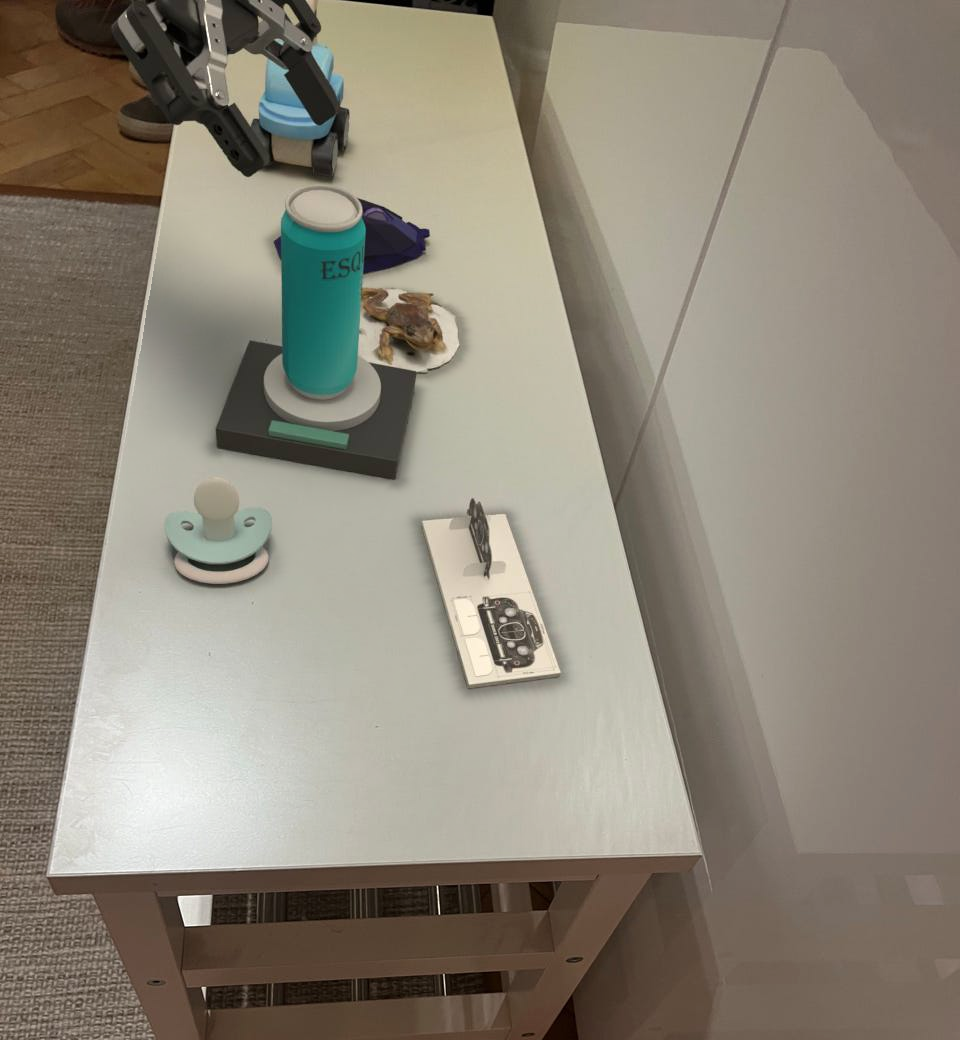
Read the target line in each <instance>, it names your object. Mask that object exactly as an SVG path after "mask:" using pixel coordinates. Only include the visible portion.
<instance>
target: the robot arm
mask: <svg viewBox="0 0 960 1040" xmlns="http://www.w3.org/2000/svg"><path fill="white" fill-rule="evenodd" d="M285 5H288V6H289V8H290V10H291V11H292V13H293V14H294V15H295V18H296V19H297V21H298V22H297V23H296V24H294V23H293V22H292V21H291V18H289V16H288V14H287V12H286V11H285V8H284V7H285ZM259 18H260V19H261V21H260V22H259ZM110 29H111V33H112V35H113V37H114V38H115V40H116V42H117V44H118V45H119V46H120V48H121V50H122V51H123V52H124V55H125V56H126V58H127V59H128V60H129V62H130V64H131V65H132V67H133V68H134V71H136V73H137V74H138V76H139V78H140V79H141V81H142V82H143V84H144V86H145V87H146V88H147V90H148V91H149V93H150V95H151V96H152V97H153V99H154V101H155V102H156V104H157V105H158V107H159V108H160V110H161V112H162V113H163V115H164V116H165V118H166V119H167V121H168V122H169V123H170V124H172V125H174V126H180V125H181V124H182V123H185V122H196V123H198V124H199V125H203V126H204V127H205V129H207V131H208V132H209V134H210V135H211V136H212V138H213V140H214V141H215V143H216V144H217V145H218V147H219V148H220V150H222V151H221V152H222V153H223V155H224V156H226V159H227V160H228V162H229V164H230V165H231V166H232V167H233V168H234V169H236V170H237V172H240V173H241V174H242V175H243V176H244V177H246V178H251V177H252V176H253V175H255V174H256V173H258V172H259V171H260V170H262V169H263V168H264V167H266V166H268V165H267V164H268V163H269V162H270V156H269V154H268V152H267V151H266V149H265V148H264V146H263V145H262V143H261V142H260V140H259V139H258V137H257V136H256V134H255V133H254V131H253V130H252V128H251V124H250V123H249V122H248V120H247V119H246V118H245V116H244V114H243V113H242V111H241V109H240V108H239V107H238V106H237V103H235V102H233V103H231V104H230V105H229V103H230V96H229V89H228V84H227V77H226V68H227V66H228V62H229V55H235V54H237V53H239V52H240V51H242V50H243V49H244V50H245V51H246V52H248V53H249V54H251V55H254V56H255V55H262V56H263V57H265V58H267V59H270V60H271V61H273V62H274V63H275V64H277V65H278V66H280V67H281V68H283V69H285V70H289V71H288V72H287V73H286V74H284V76H285V78H286V79H287V81H288V82H289V84H290V85H291V87H292V89H293V90H294V92H295V93H296V95H297V97H298V98H299V100H300V101H301V103H302V105H303V106H304V108H305V109H306V111H307V112H308V114H309V116H310V117H311V119H312V120H313V122H314V123H315V124H316V125H322V124H324V123H325V122H326V121H328V120H329V119H331V118H332V117H333V116H335V115H336V114H337V113H339V112H340V109H341V107H342V106H341V104H340V103H339V101H338V99H337V96H336V94H335V91H334V90H333V88H332V86H331V85H330V84H329V82H328V80H327V79H326V77H325V75H324V73H323V72H322V70H321V68H320V67H319V65H318V64H317V62H316V60H315V59H314V57H313V55H312V52H311V50H312V47H313V46H312V42H313V40H314V38H315V36H316V35H317V36H318V35H319V34H320V33H321V31H322V25H321V21H320V20H319V18H318V16H317V17H316V15H315V14H314V12H313V11H312V9H311V8H310V6H309V4H308V3H307V1H306V0H134V1H133V2H132V3H131V4H129V6H128V7H127V8H126V9H125V10H124V11H123V13H121V15H120V16H119V17H118V18H117V19H116V20H115V21H114V22H113V24H112V25H111V28H110ZM276 39H278V40H280V41H284V43H283V45H281V44H280V43H278V42H277V41H278V40H276ZM172 43H173V44H172ZM166 76H167V77H168V79H169V81H170V82H171V84H172V86H173V87H174V89H175V90H176V92H177V93H178V94H177V95H176V93H175V92H174V90H173V89H172V87H171V85H170V84H169V82H168V81H167V78H166Z"/></svg>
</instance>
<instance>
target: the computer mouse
mask: <svg viewBox="0 0 960 1040" xmlns="http://www.w3.org/2000/svg"><path fill="white" fill-rule="evenodd" d="M356 198H357V199H358V200H359V201H360V203H361V205H362V210H363V212H362V219H363V222H364V225H365V228H366V233H365V249H364V265H363V275H365V274H370V273H374V272H379V271H384V270H388V269H392V268H395V267H397V266H400V265H403V264H405V263H408V262H411V261H415V260H417V259H418V258H419V257H420V256H421V255H422V254H423V253H425V252H426V251H427V246H426V240H425V239H428V238H429V237H431V234H430V233H431V231H430V229H429V228H425V227H423V228H420V227H418V225H417V224H415V223H412V222H410V221H404V220H403V217H402V215H400V214H397V213H395V212H394V211H392V210H391V209H389V208H387V207H385V206H383V205H381V204H377V203H374V202H371V201H368V200H365V199H363V198H359V197H356ZM273 243H274V246H275V250H276V252H277V255H278V257H279V259H280V260H281V235H280V236H278V237H277V238H276V239H274V240H273Z"/></svg>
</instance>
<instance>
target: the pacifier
mask: <svg viewBox="0 0 960 1040" xmlns="http://www.w3.org/2000/svg"><path fill="white" fill-rule="evenodd" d="M193 504H194V509H195V510H196V511H197V512H195V511H187V510H178V511H174V512H172V513H169V514H168V515H167V516H165V519H164V521H163V530H164V534H165V536H166V538H167V540H168V541H169V543H170V544H171V546H172V547H173V549H175V550H176V551H177V553H176V555H175V556H174V561H173V563H174V565H175V569H176V570H177V571H178V572H179V574H181V575H182V576H184V577H186V578H187V579H189V580H191V581H195V582H198V583H204V584H211V585H213V584H214V585H219V584H220V585H227V584H233V583H237V582H241V581H242V582H243V581H244V580H248V579H250V578H252V577H254V576H257V575H258V574H259V573H260V572H262V571H263V570H264V569H265V567H266V566H267V564H268V563H269V558H270V557H269V553H268V551H267V550H266V549H265V547H264V545H265V544H266V542H267V541H268V539H269V537H270V535H271V533H272V527H273V526H272V525H273V521H272V516H271V514H270V512H269V511H268V510H267V509H266V508H262V507H257V506H256V507H255V506H253V507H252V506H251V507H246V508H243V509H239V508H240V495H239V492H238V490H237V488H236V487H235V485H234V484H233V483H232V482H230V481H229V480H228V479H226V478H223V477H219V476H215V477H214V476H213V477H208V478H206V479H204V480H203V481H201V482H200V483H199V484H198V485H197V487H196V489H195V491H194V494H193ZM238 509H239V510H238ZM252 520H253V521H254V524H252V525H251V526H246V525H245V524H246V523H247V522H248V521H252ZM183 524H188V525H191V526H192V529H191V530H187V529H185V528H183V526H182V525H183ZM252 555H254V556H255V557H254V558H253V559H252V561H251V562H249V563H248V564H247V565H244V566H242V567H239V568H236V569H233V570H232V569H231V570H226V571H211V570H206V569H205V570H204V569H201V568H199V567H197V566H195V565H192V564H191V563H190V562H189V559H190V560H193V561H195V562H198V563H203V564H207V565H227V564H233V563H236V562H240V561H242V560H245V559H247V558H249V557H251V556H252Z"/></svg>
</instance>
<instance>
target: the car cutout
mask: <svg viewBox="0 0 960 1040" xmlns="http://www.w3.org/2000/svg"><path fill="white" fill-rule="evenodd" d="M420 526H421V529H422V532H423V536H424V539H425V543H426V546H427V550H428V553H429V557H430V561H431V564H432V568H433V571H434V575H435V577H436V582H437V585H438V589H439V592H440V595H441V599H442V603H443V606H444V611H445V613H446V618H447V620H448V623H449V628H450V631H451V634H452V638H453V640H454V645H455V648H456V652H457V655H458V658H459V662H460V665H461V668H462V673H463V676H464V679H465V683H466V686H467V689H474V688H483V687H490V686H498V685H505V684H513V683H520V682H528V681H535V680H536V681H537V680H543V679H551V678H558V677H559V678H560V676H561V674H562V671H561V668H560V666H559V663H558V660H557V658H556V657H557V656H556V655H555V654H556V653H555V652H554V649H553V646H552V643H551V640H550V637H549V634H548V632H547V628H546V626H545V623H544V620H543V618H542V614H541V612H540V609H539V605H538V603H537V599H536V598H535V595H534V592H533V588H532V585H531V583H530V580H529V577H528V575H527V571H526V569H525V565H524V564H523V560H522V556H521V554H520V551H519V549H518V546H517V542H516V539H515V537H514V534H513V531H512V528H511V526H510V523H509V520H508V516H507V514H506V513H498V514H497V513H496V514H486V512H485V508H484V506H483V504H482V502H481V501H478V502H476V499H475V498H474V497H472V498H471V499H470V501H469V507H468V508H467V510H466V515H462V516H456V517H449V518H436V519H425V520H424V519H423V520H421V524H420Z"/></svg>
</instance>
